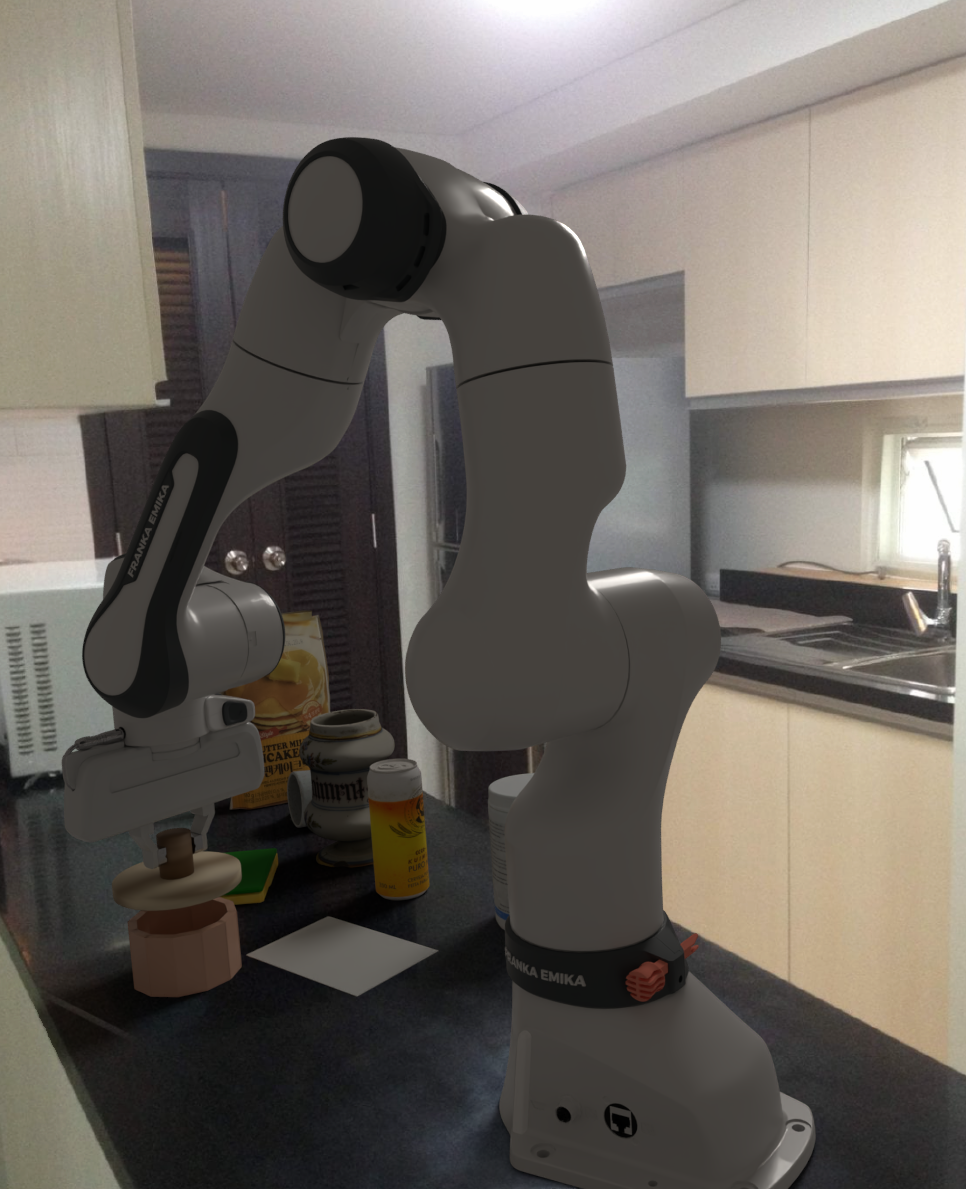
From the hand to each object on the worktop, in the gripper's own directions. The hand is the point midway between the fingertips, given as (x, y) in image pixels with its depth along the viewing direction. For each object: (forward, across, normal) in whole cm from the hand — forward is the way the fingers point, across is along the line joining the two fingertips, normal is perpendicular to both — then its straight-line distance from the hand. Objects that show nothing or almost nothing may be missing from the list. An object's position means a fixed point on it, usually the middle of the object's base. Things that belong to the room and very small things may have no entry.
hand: (176, 858), depth 104 cm
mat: (+12, +11, -10) cm, 19 cm away
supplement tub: (+12, +28, -22) cm, 38 cm away
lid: (+3, 0, 0) cm, 3 cm away
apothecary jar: (+12, +32, +10) cm, 35 cm away
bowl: (+12, 0, 0) cm, 12 cm away
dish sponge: (+12, +18, +15) cm, 26 cm away
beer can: (+12, +26, -4) cm, 29 cm away
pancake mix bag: (+12, +44, +39) cm, 60 cm away
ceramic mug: (+12, +40, +26) cm, 49 cm away
